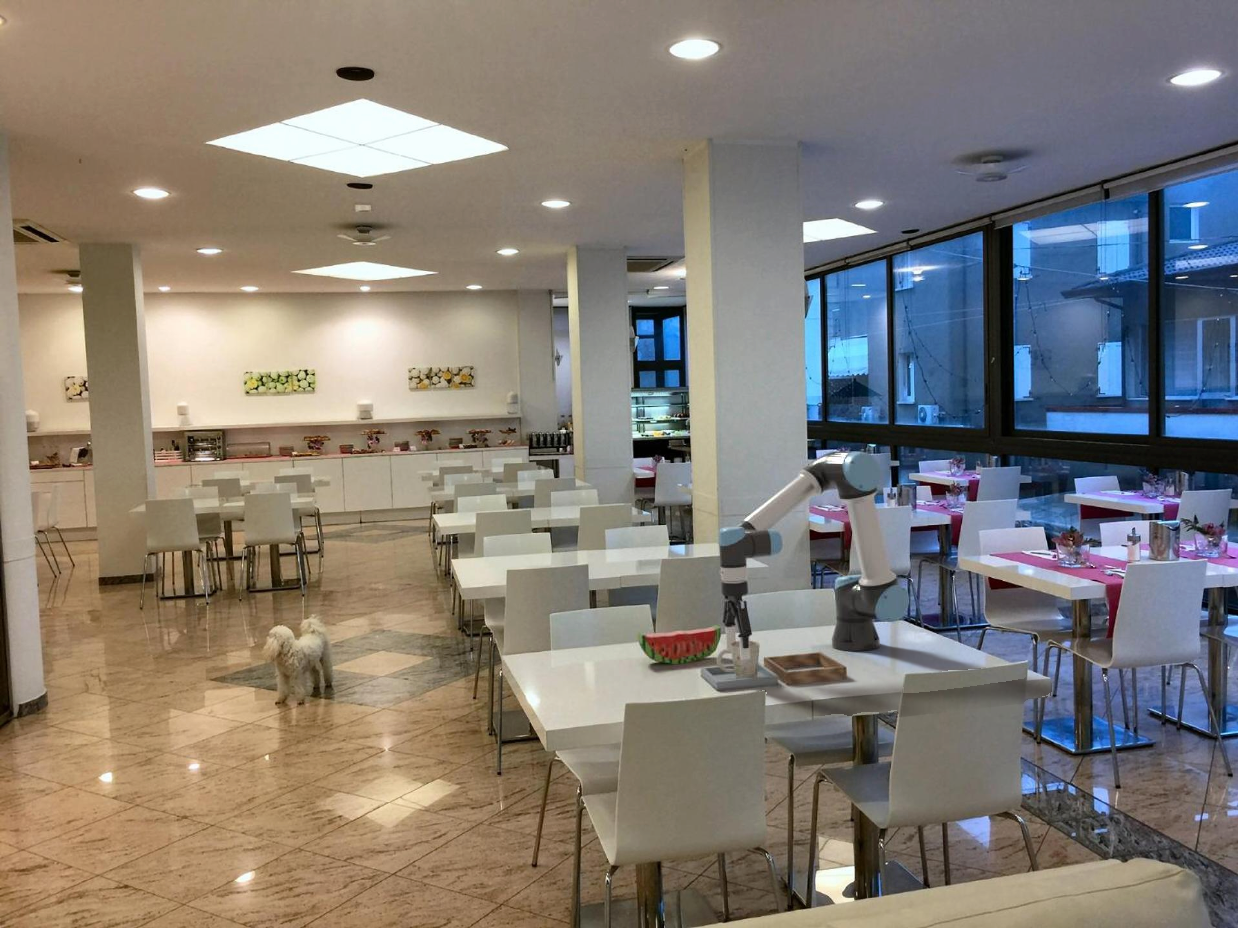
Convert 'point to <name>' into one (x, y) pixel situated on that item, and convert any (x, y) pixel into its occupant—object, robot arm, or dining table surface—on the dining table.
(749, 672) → the mug
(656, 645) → the fruit slice
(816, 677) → the corral
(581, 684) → the dining table surface
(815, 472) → the robot arm
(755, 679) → the tray
